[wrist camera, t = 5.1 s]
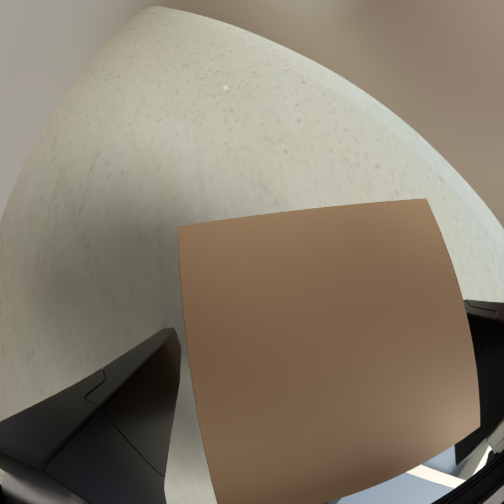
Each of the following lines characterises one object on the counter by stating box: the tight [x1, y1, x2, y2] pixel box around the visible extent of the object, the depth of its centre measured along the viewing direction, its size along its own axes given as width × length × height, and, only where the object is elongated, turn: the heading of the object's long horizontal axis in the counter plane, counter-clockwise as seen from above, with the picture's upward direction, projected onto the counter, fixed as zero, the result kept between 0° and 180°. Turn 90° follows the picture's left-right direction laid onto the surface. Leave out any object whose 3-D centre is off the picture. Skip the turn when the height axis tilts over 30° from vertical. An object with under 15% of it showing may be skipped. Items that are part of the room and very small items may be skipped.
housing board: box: [327, 443, 492, 504], centre depth 10 cm, size 20×12×2 cm, turn 144°
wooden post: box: [178, 199, 480, 504], centre depth 9 cm, size 4×4×13 cm
